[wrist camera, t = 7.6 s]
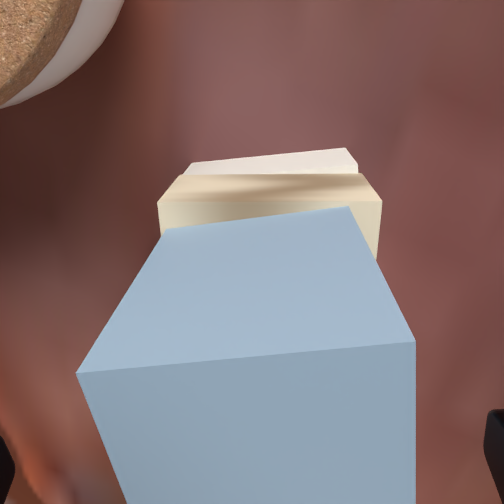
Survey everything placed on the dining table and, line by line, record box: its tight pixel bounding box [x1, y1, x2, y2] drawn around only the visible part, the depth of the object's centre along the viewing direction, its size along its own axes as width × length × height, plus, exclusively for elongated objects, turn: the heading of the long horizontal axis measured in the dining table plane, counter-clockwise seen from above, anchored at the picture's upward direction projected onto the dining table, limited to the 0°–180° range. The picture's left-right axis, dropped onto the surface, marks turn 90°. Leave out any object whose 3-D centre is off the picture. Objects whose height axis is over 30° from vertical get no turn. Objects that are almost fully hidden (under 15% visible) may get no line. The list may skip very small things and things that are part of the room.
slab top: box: [157, 173, 382, 260], centre depth 14 cm, size 6×6×3 cm
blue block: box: [76, 206, 416, 504], centre depth 10 cm, size 5×5×6 cm
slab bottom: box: [183, 148, 358, 175], centre depth 17 cm, size 6×6×3 cm
